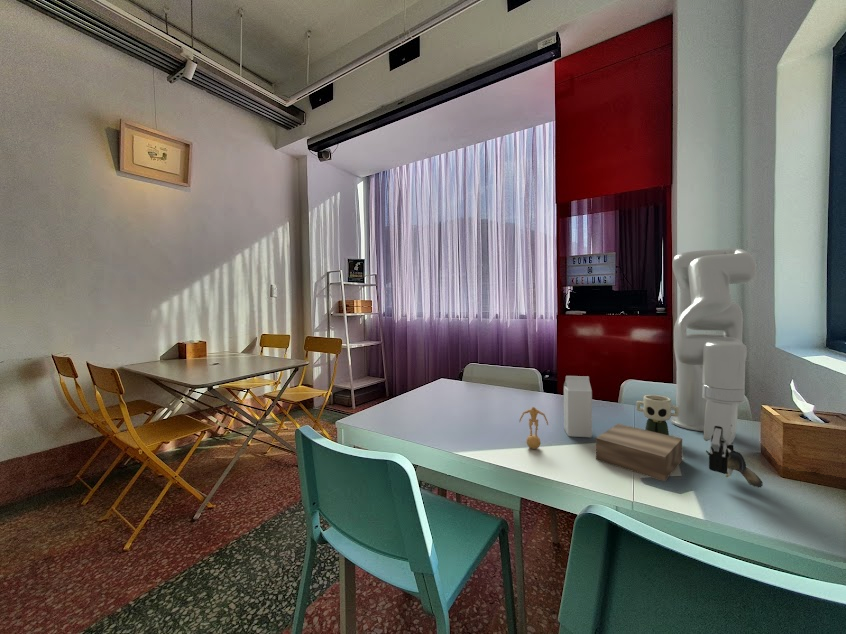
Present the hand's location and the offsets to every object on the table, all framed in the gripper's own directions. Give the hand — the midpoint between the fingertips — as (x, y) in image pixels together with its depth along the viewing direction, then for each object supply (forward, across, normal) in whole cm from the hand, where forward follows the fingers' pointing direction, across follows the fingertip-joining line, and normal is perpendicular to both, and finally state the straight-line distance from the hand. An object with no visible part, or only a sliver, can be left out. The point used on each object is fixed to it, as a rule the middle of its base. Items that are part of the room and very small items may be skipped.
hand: (721, 464), depth 82 cm
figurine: (+4, +16, -41) cm, 44 cm away
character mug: (+4, -17, -18) cm, 25 cm away
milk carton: (+4, -4, -37) cm, 37 cm away
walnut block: (+4, +3, -17) cm, 17 cm away
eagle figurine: (+2, +1, +3) cm, 3 cm away
